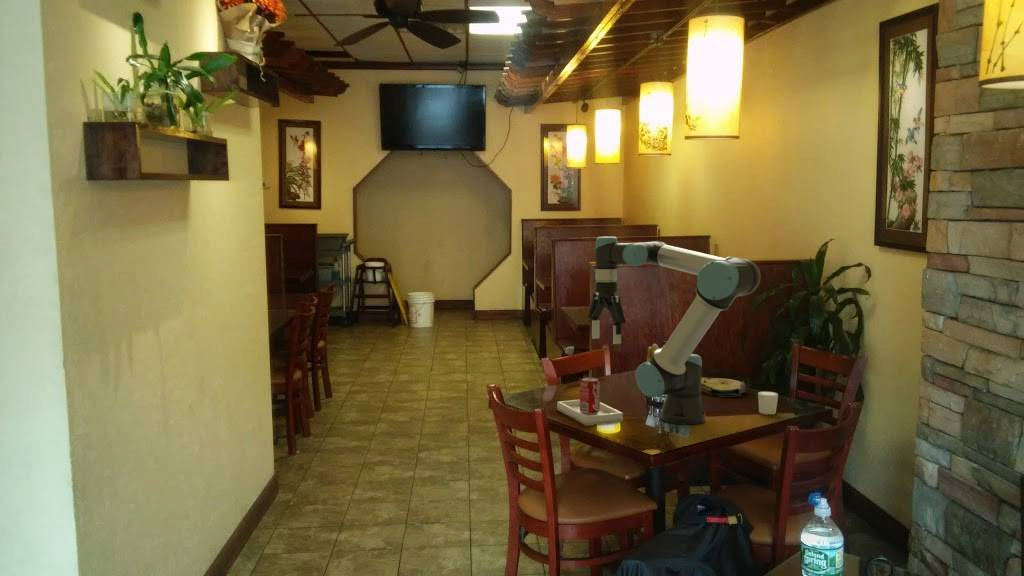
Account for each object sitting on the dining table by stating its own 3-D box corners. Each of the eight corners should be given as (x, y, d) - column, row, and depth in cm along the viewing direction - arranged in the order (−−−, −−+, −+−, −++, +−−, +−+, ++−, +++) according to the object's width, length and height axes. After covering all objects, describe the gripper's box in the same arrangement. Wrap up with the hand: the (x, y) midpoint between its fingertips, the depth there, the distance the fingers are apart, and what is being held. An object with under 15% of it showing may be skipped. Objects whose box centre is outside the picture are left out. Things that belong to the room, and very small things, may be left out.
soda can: (600, 410, 293) (600, 377, 292) (599, 415, 286) (599, 381, 285) (580, 409, 294) (580, 376, 293) (578, 414, 287) (579, 380, 286)
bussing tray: (622, 421, 283) (622, 412, 283) (586, 425, 278) (586, 416, 277) (591, 406, 303) (591, 398, 303) (557, 409, 298) (557, 401, 297)
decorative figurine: (669, 378, 350) (669, 343, 348) (668, 382, 342) (669, 346, 340) (645, 377, 352) (646, 342, 350) (645, 381, 344) (645, 345, 342)
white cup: (780, 414, 293) (781, 395, 292) (761, 415, 292) (762, 395, 291) (773, 409, 299) (773, 390, 299) (754, 410, 299) (755, 391, 298)
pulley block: (680, 368, 341) (753, 377, 325) (680, 381, 342) (753, 391, 326) (667, 379, 329) (742, 389, 313) (667, 393, 331) (742, 404, 315)
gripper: (635, 283, 281) (635, 345, 283) (596, 277, 303) (596, 335, 305) (617, 284, 278) (617, 346, 280) (578, 278, 300) (578, 337, 302)
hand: (606, 341), depth 293 cm, fingers open, 13 cm apart
